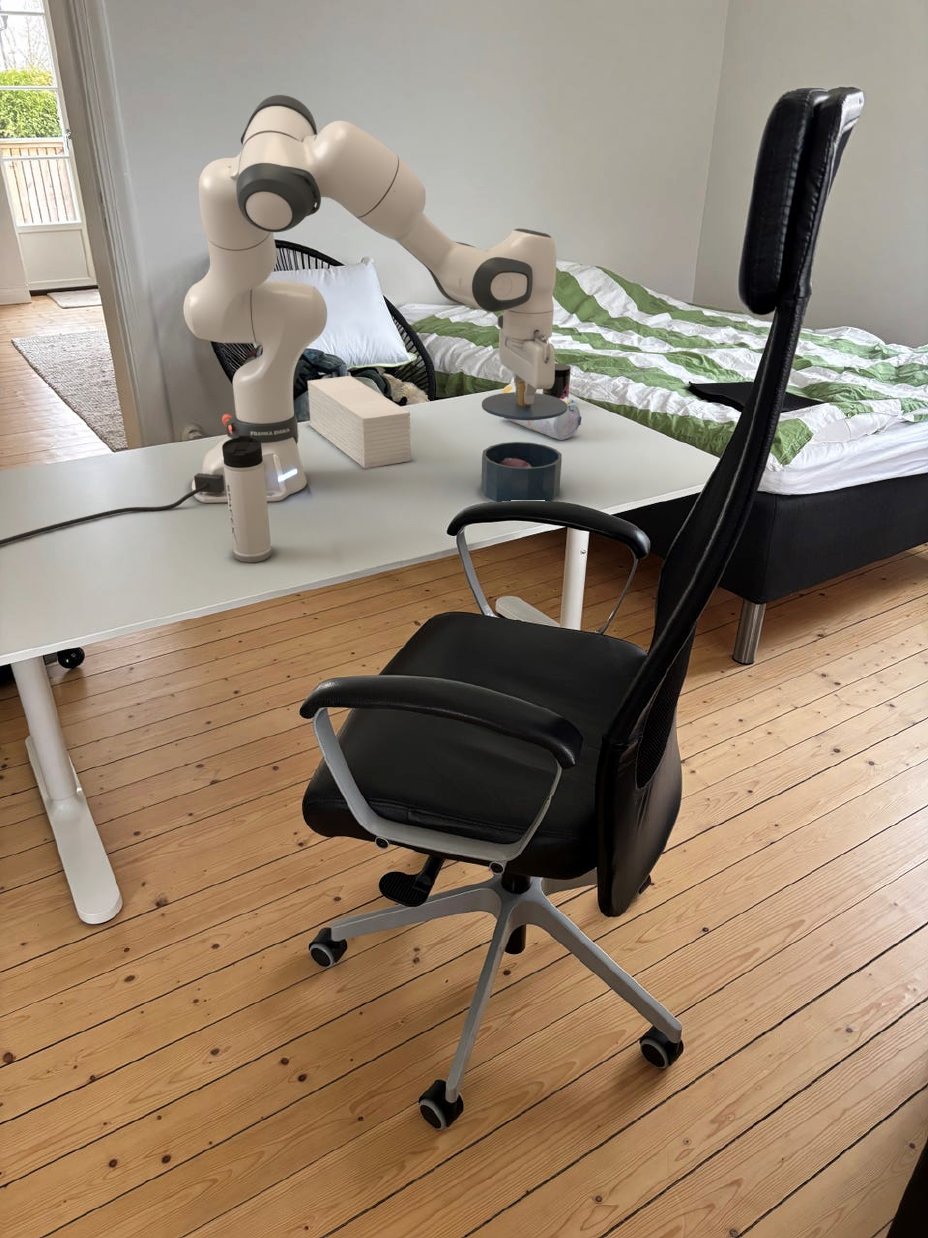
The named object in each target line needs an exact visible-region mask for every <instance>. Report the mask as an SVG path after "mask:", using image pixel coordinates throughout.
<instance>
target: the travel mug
mask: <svg viewBox="0 0 928 1238" xmlns="http://www.w3.org/2000/svg"><path fill="white" fill-rule="evenodd" d="M222 451H223V458H224V459H223V460H224V472H225V481H226V489H227V498H228V502H227V506H228V515H229V524H230V534H231V541H232V550H233V557H234V559H236V560H237V561H239V562H242V563H250V564H251V563H259V562H262V561H265V560H267V559H269V558H270V557H271V555H272V543H271V542H272V541H271V532H270V531H271V530H270V523H269V522H270V519H269V508H268V501H267V497H266V486H265V475H264V465H263V458H262V447H261V442H260V441H259V440H257V439H254V438H250V435H239V438H233V439H230V440H228V441H226V442H225V443H224V444H223V445H222Z"/></svg>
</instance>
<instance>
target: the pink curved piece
mask: <svg viewBox="0 0 928 1238" xmlns="http://www.w3.org/2000/svg"><path fill="white" fill-rule="evenodd" d="M499 464H501V465H506V466H511V467H524V468H531V467H532V466H531V465H530V464H529V463H527V462H525V461H523V460H520V459H512V458H505V459H504V460H503V461H501V462H500V463H499Z"/></svg>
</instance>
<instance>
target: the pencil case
mask: <svg viewBox="0 0 928 1238" xmlns="http://www.w3.org/2000/svg"><path fill="white" fill-rule="evenodd" d="M515 388H516V387H515V383H514V382H511V383H510V384H507V385H505V386H504V387H503V389H502V390H501V392H500V394H502V393H512V392H515ZM536 393H538V394H541V392H538V391H536ZM561 400H563V401H564V402H565V403H566V404H567V411H566V412H565V413H564V414H562V415H560V416H557V417H554V418H549V419H541V420H514V419H508V418H504V419H505V420H506V421H509V422H512V423H515V424H517V425H520V426H522V427H525V428H527V429H529V430H532V431H534V432H537V433H540V434H542V435H545V436H547V437H550V438H552V439H555V440H557V441H558V440H559V441H563V440H568V439H570V438H572V437H573V436H574V435H575V434H576V433H577V431H578V430H579V427H580V426H581V425H582V416H581V412H580V408H579V406H578V404H577V402H576V401H575V399H570V398H568V397H565V398H564V399H561Z"/></svg>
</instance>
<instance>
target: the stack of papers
mask: <svg viewBox="0 0 928 1238" xmlns="http://www.w3.org/2000/svg"><path fill="white" fill-rule="evenodd" d="M307 389H308V390H307V393H308V394H307V395H308V409H309V411H308V412H309V426H310V427H311V428H312V429H314V431H316V432H317V433H318V434H320V435H321V436H323V437H324V438H325V439H326V440H328V441H329V442H331V444H333V445H334V446H335V447H337V448H338V449H339V450H340V451H342V452H343V453H344V454H346V455H347V456H348V457H349V458H350V459H352V460H353V461H355V462H356V463H357V464H358V465H360V466H361V467H362V468H364V469H371V468H377V467H382V466H383V467H384V466H388V465H389V466H390V465H395V464H400V463H407V462H411V422H410V421H411V412H410V411H408V410H407V409H405V408H404V407H402V406H401V405H399V404H397V403H395V402H394V401H392V400H391V399H389V398H387V397H386V396H384V395H382V394H381V393H379V392H378V391H376V390H374V389H372V388H371V387H369V386H368V385H366V384H365V383H363V382H361V381H360V380H358V379H356V378H355V377H353V376H351V375H347V376H346V375H345V376H338V377H329V378H320V379H319V378H318V379H313V380H312V379H311V380H307Z"/></svg>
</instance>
